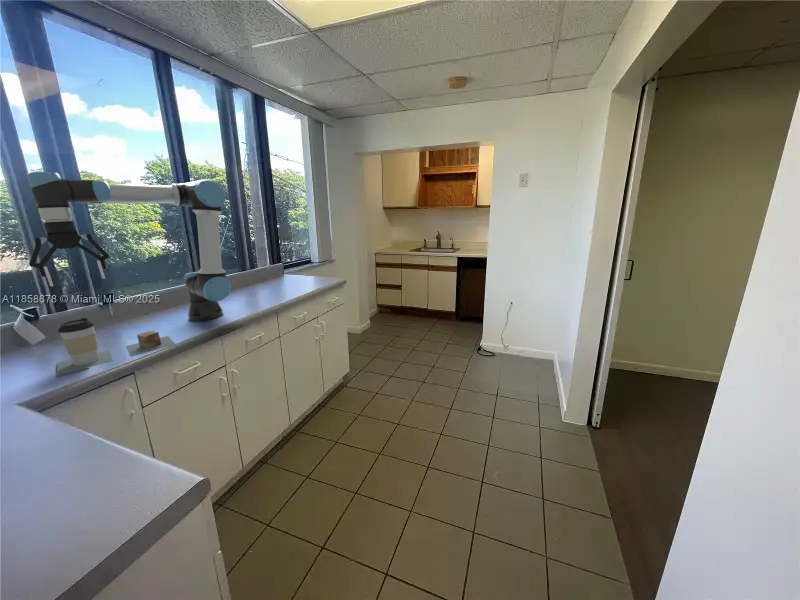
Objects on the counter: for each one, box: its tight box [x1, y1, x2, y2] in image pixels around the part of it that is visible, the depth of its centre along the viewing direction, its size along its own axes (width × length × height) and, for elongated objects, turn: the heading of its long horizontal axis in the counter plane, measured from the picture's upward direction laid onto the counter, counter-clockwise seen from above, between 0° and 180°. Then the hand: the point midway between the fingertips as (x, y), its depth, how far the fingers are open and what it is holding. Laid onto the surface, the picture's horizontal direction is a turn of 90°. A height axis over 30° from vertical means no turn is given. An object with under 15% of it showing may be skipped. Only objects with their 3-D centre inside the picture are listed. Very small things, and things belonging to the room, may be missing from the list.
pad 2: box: [125, 335, 176, 357], centre depth 128 cm, size 14×14×1 cm
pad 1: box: [56, 349, 114, 377], centre depth 116 cm, size 14×14×1 cm
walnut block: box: [136, 330, 161, 349], centre depth 128 cm, size 5×5×5 cm
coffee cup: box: [58, 317, 100, 365], centre depth 114 cm, size 9×9×15 cm
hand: (78, 281), depth 117 cm, fingers open, 13 cm apart
